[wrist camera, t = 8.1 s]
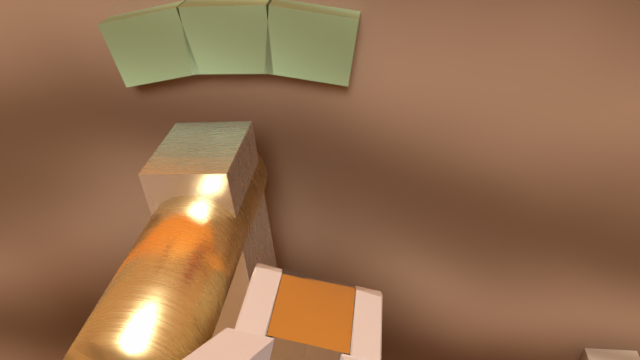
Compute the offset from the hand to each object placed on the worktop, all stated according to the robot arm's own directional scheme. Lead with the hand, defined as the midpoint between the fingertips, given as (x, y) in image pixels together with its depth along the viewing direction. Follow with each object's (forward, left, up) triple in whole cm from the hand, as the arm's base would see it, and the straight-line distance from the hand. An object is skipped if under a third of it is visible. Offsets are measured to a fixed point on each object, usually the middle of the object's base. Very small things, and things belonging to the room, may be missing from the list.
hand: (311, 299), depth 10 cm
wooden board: (-7, +2, -7) cm, 10 cm away
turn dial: (-4, +2, -5) cm, 7 cm away
